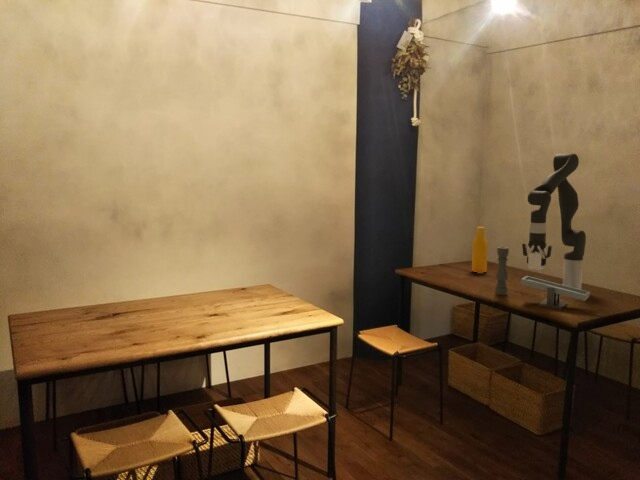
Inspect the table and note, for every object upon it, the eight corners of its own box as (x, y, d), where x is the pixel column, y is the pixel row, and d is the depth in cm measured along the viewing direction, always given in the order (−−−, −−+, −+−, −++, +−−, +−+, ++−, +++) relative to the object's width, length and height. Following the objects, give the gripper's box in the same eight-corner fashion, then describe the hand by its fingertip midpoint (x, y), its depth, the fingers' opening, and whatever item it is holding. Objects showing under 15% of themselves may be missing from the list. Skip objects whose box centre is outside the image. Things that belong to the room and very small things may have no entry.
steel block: (531, 266, 267) (532, 250, 266) (544, 267, 263) (544, 252, 262) (528, 268, 262) (528, 252, 261) (540, 269, 258) (541, 253, 257)
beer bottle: (469, 270, 342) (470, 226, 338) (483, 270, 343) (484, 226, 339) (475, 273, 333) (476, 228, 329) (489, 273, 334) (490, 227, 330)
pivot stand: (545, 300, 267) (546, 282, 266) (567, 303, 261) (568, 285, 260) (538, 305, 258) (539, 287, 256) (560, 309, 252) (561, 290, 250)
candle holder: (508, 295, 278) (510, 248, 275) (495, 295, 280) (497, 248, 276) (506, 292, 284) (508, 246, 281) (494, 292, 286) (496, 246, 282)
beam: (525, 280, 271) (526, 275, 270) (588, 297, 253) (590, 291, 252) (520, 283, 264) (521, 278, 263) (584, 301, 246) (586, 295, 245)
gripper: (555, 231, 258) (553, 265, 261) (525, 229, 267) (523, 262, 270) (551, 233, 253) (549, 268, 255) (520, 231, 261) (519, 264, 264)
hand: (536, 264), depth 262 cm, fingers closed on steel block, 6 cm apart
